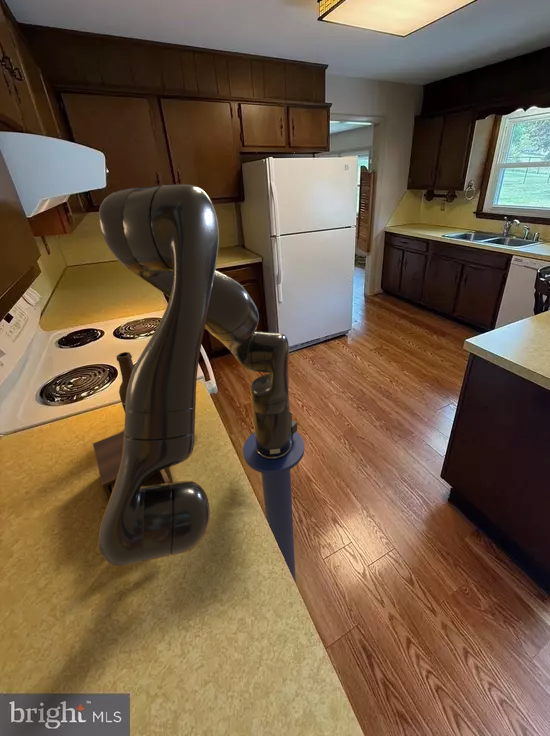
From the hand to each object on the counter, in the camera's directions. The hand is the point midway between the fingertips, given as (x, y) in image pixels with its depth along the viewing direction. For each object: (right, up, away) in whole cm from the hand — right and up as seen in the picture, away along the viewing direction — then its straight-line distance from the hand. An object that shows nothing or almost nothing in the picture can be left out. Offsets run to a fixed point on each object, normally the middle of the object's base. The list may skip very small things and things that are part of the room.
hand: (149, 507), depth 63 cm
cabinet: (-10, -2, +16) cm, 19 cm away
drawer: (-3, -5, +7) cm, 9 cm away
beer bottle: (-17, +6, +33) cm, 38 cm away
